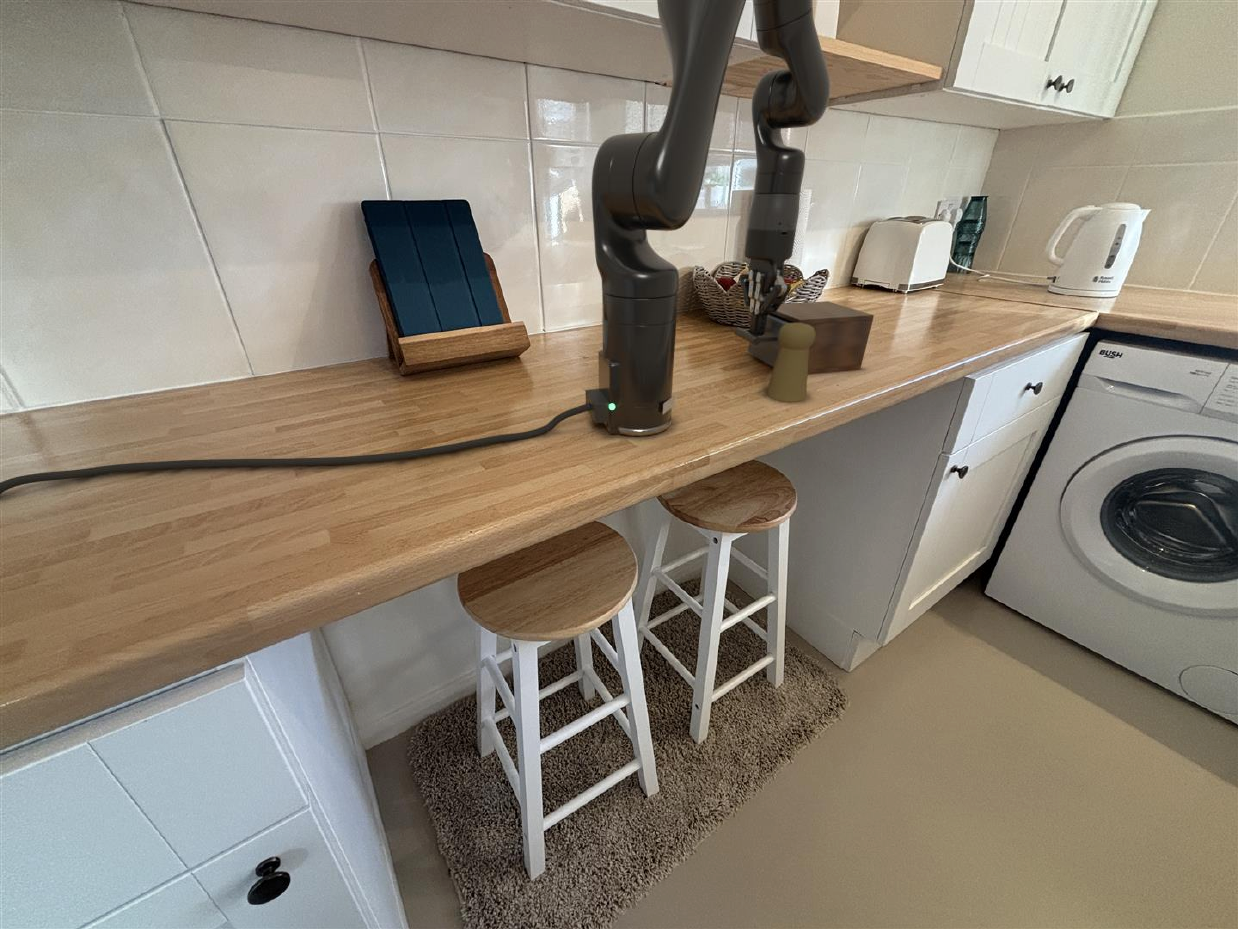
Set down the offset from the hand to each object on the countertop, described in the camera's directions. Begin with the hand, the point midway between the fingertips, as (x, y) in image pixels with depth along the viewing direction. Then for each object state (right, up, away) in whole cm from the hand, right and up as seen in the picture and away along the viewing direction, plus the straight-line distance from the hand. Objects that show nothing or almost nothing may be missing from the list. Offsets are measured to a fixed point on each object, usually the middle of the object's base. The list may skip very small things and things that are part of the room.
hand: (756, 334), depth 87 cm
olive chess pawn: (+2, -12, -9) cm, 15 cm away
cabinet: (+11, -4, +6) cm, 13 cm away
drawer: (+6, -4, +4) cm, 8 cm away
